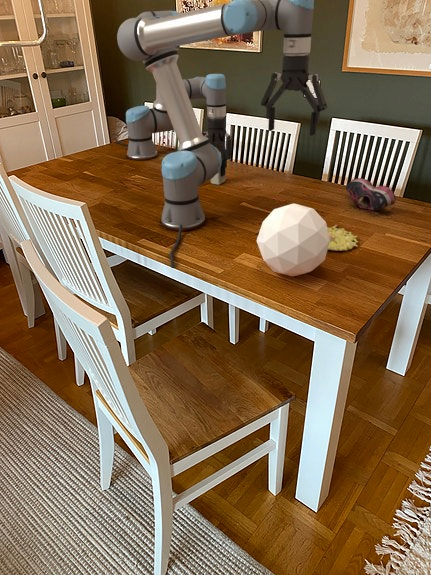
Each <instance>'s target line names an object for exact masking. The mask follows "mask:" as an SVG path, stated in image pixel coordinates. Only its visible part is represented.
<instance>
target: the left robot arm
mask: <svg viewBox="0 0 431 575" xmlns="http://www.w3.org/2000/svg"><path fill="white" fill-rule="evenodd" d="M177 14H181V13H180V12H179V11H178V10H170V9H169V10H159V11H158V10H157V11H155V10H154V11H144V12H141V13H139V15H137V17H136V18H142V17H151V16H158V17H163V18H164V17H168V16H173V15H177ZM180 48H181V45H180V46H178V47H177V49H176V50H177V51H178V50H179V49H180ZM182 80H183V83H184V85H185V88H186V91H187V94H188V96H189V99H190V101H192V100H199V99H204V100H206V117H207V119H206V122H207V123H206V124H207V125H206V126H207V130H206V131H202V135H203V136H205V137H207V138H208V139H209V141H210V144H211V145H213V146H214V147H216V143H217V144H218V147H219V152H221V157H222V164H221V176H224V175H225V168H226V169H227V167H228V161H229V160H231V159H232V140H233V134H231V133H230V134H229V133H228V132H227V118H226V116H227V85H226V76H225V74H224V73H223V74H222V73H209V74H207V75H206V76H195V77H194V78H185V79H182ZM155 84H156V83H155ZM155 87H156V89H155V90H156V93H155V94H156V95H155V100H154V101H153V102H152V108H150V107H149V106H148V105H138V106H134V107H131V108H129V109H127V110H126V112H125V123H126V128H127V136H128V143H125V142H121V141H119V140H118V139H117V137H114V140H115V142H117V144H120V145H123V146H127V150H126V157H127V159H129V160H131V161H146V160H151V159H154V158H157V156H158V150H157V148H156V145H155V144H154V141H153V134H157V133H158V134H159V133H165V132H171V131H174V128H173V125H172V123H171V120H170V118H169V115H168V112H167V110H166V107H165V105H164V102H163V99H162V97H161V94H160V92H159V89H158V86H157V84H156V86H155Z"/></svg>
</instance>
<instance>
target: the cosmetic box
mask: <svg viewBox="0 0 431 575" xmlns="http://www.w3.org/2000/svg"><path fill="white" fill-rule="evenodd" d="M219 152H220V151H219ZM220 155H221V152H220ZM221 159H222V157H221ZM226 170H227V168H225V175H224V176H221V168H220V170H219V172H218V173H217V174H216V175H215V176H214V177H213V178H212V179H210V180H209V181H210V184H213V185H217V186H218V185H221V184H223V183H224V182H225V181H226V180H227V171H226Z"/></svg>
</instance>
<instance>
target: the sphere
mask: <svg viewBox="0 0 431 575" xmlns="http://www.w3.org/2000/svg"><path fill="white" fill-rule="evenodd" d="M327 227H328V224H327V222H326V220H324V219H323V217H322V216H321V215H320V213H318V212H317V211H316V209H315V208H312V207H309V206H305V205H302V204H297V203H294V202H293V203H290V204H286V205H284V206H280V207H277V208H274V209H273V210H272V211H271V212H270V213H269V214H268V215H267V217H266V218H265V219H264V220H263V221H262V223H261V226H260V229H259V232H258V235H257V238H256V243H257V247H258V250H259V252H260V254H261V257H262V259H263V261H264V262H265V264H266V265H267V266H268V267H269V268H270V269H271V271H272V272H273V273H277V274H281V275H285V276H288V277H293V278H294V277H296V276H300V275H303V274H307V273H310V272H312V271H314V270H315V269H316V268H317V267H319V265H321V264H322V263H323V262H324V261H326V257H327V253H328V251H329V250H328V246H329V242H330V238H329V233H328V229H327Z"/></svg>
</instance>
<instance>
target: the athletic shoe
mask: <svg viewBox="0 0 431 575" xmlns="http://www.w3.org/2000/svg"><path fill="white" fill-rule="evenodd" d="M345 190H346V192H348V194H349V196H345V199H347V200H351V201H353V203H354V205H355V206H358V207H359V208H360V209H361V210H368V211H369V210H371V211H372V212H377V211H378V210H382V209H385V208H387V207H390V206H393V205H395V203H396V195H395V192H394V190H392V189H391V188H390V187H389V186H386V185H385V186H384V185H379V186H374V185H373V184H372V182H371V181H369V180H368V179H365V178H362V177H357V178H353V179H352V180H351V181H349V182H348V183H347V185H346V186H345Z"/></svg>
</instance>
